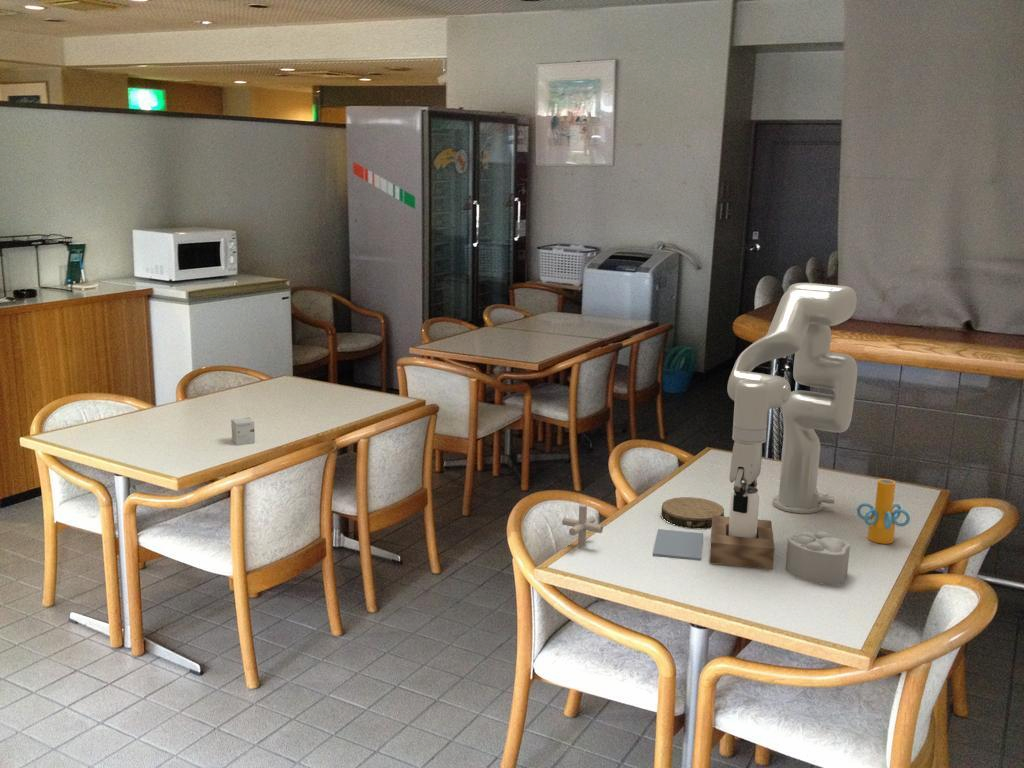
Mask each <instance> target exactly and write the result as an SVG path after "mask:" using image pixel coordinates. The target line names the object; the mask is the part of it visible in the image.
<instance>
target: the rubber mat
mask: <svg viewBox="0 0 1024 768" xmlns="http://www.w3.org/2000/svg"><path fill="white" fill-rule="evenodd" d="M703 537H704V536H703V533H702V532H694V531H693V532H691V531H683V530H682V531H681V530H670V529H663V528H658V529H657V532H656V537H655V542H654V547H653V552H652V557H664V558H675V559H683V560H692V561H693V560H694V561H701V560H702V548H703V539H704V538H703Z"/></svg>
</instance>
